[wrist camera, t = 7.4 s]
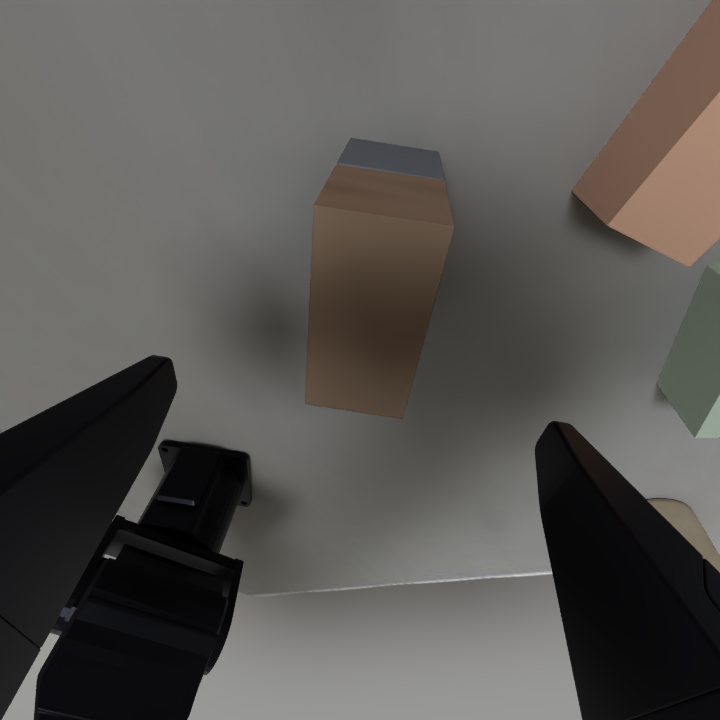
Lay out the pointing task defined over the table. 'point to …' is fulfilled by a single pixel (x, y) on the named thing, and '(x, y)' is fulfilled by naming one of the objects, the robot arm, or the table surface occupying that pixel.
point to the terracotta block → (667, 154)
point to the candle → (688, 527)
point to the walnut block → (373, 286)
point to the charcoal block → (392, 159)
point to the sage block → (697, 361)
